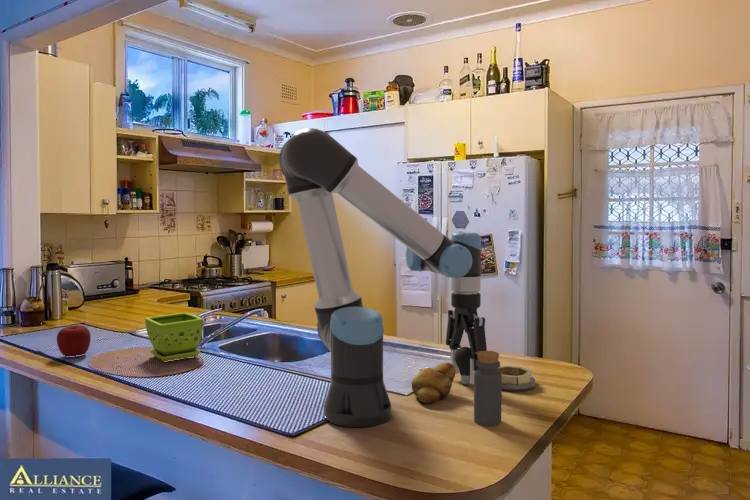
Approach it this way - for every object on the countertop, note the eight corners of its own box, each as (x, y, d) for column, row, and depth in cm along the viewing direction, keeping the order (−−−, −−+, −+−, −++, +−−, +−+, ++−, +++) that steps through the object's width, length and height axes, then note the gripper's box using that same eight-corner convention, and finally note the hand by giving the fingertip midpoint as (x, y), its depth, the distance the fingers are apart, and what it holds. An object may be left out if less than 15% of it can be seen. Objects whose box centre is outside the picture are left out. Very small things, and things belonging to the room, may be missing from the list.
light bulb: (475, 388, 141) (476, 350, 141) (453, 387, 143) (454, 349, 142) (476, 381, 147) (476, 345, 146) (455, 380, 148) (455, 344, 147)
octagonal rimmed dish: (506, 394, 137) (506, 380, 136) (478, 381, 148) (478, 368, 147) (545, 387, 142) (545, 374, 142) (515, 375, 153) (515, 362, 152)
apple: (53, 361, 169) (51, 329, 169) (63, 353, 179) (61, 323, 178) (86, 359, 172) (85, 327, 171) (94, 351, 181) (93, 321, 180)
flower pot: (145, 357, 174) (143, 317, 173) (188, 349, 183) (187, 311, 182) (160, 366, 164) (159, 324, 163) (205, 358, 173) (204, 318, 172)
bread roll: (438, 408, 127) (438, 374, 127) (401, 402, 132) (400, 369, 131) (458, 392, 139) (458, 361, 138) (422, 387, 143) (422, 356, 143)
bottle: (484, 428, 115) (484, 357, 114) (468, 418, 121) (468, 351, 120) (506, 423, 118) (507, 354, 117) (490, 414, 123) (491, 348, 122)
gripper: (503, 296, 135) (502, 387, 137) (456, 286, 154) (455, 365, 156) (477, 298, 132) (476, 391, 133) (432, 287, 151) (432, 369, 153)
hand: (465, 377), depth 145 cm, fingers open, 8 cm apart
